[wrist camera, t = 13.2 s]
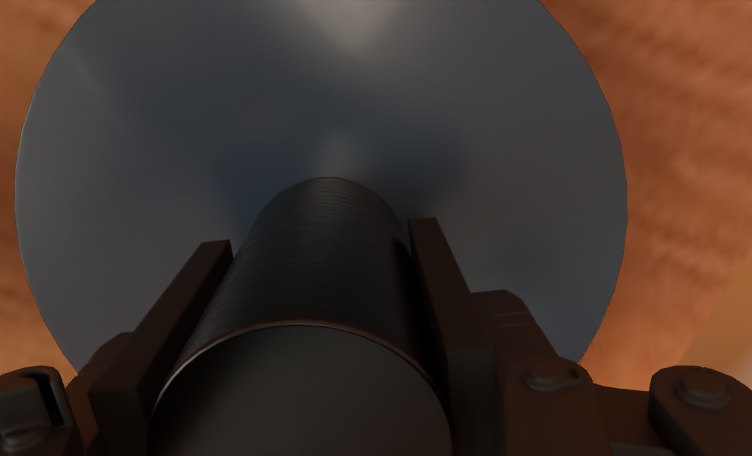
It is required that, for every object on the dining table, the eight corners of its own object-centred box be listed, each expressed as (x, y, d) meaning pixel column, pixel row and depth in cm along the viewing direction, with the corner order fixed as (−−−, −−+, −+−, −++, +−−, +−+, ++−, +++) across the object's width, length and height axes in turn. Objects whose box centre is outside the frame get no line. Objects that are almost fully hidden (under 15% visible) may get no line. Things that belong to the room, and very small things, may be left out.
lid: (122, 490, 20) (-67, 852, 11) (-54, -41, 14) (-764, -187, 5) (600, 438, 20) (798, 757, 11) (624, -115, 14) (1091, -386, 5)
